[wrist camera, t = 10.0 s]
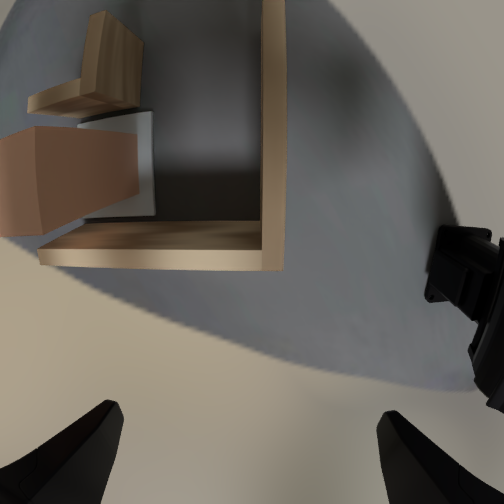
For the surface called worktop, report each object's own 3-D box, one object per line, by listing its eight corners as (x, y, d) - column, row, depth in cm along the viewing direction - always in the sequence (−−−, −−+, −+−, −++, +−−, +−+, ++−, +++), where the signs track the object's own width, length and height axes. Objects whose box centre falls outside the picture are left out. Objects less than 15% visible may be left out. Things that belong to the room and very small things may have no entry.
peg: (139, 193, 18) (43, 235, 8) (91, 197, 18) (-12, 237, 8) (137, 134, 16) (34, 125, 7) (88, 142, 16) (-20, 148, 7)
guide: (276, 32, 14) (284, -12, 9) (274, 235, 19) (283, 270, 13) (85, 58, 15) (37, 38, 9) (87, 236, 19) (40, 265, 13)
